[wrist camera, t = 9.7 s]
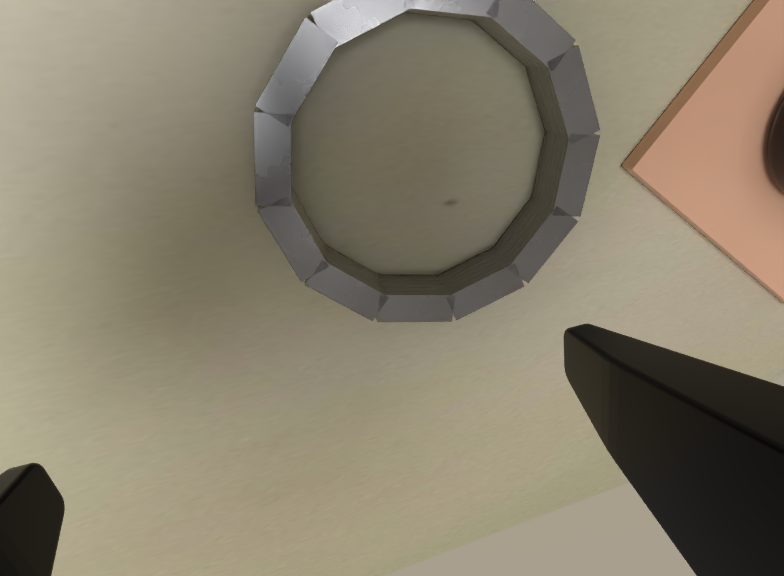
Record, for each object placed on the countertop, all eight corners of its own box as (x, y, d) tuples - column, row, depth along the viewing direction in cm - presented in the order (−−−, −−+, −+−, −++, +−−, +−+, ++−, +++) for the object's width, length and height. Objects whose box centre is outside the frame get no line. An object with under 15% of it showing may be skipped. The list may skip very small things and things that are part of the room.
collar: (380, -115, 17) (390, -133, 15) (628, 112, 21) (659, 119, 20) (197, 206, 20) (188, 223, 18) (448, 343, 25) (460, 367, 23)
